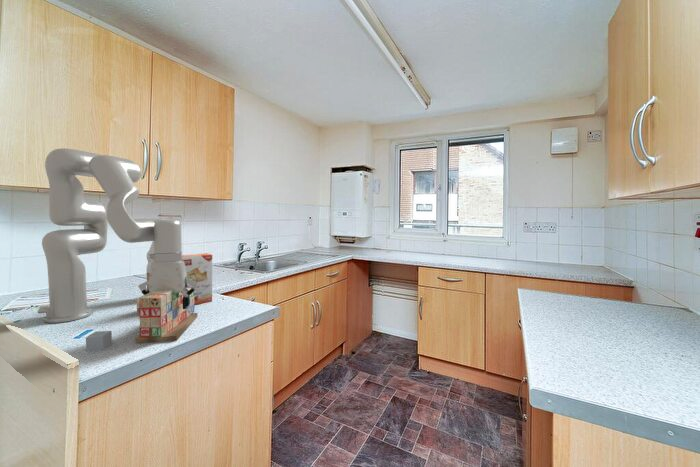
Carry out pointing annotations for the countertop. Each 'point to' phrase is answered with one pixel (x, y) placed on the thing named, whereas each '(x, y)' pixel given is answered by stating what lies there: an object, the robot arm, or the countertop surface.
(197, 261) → the cracker box
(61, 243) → the robot arm
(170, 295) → the stack of blocks
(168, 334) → the walnut board
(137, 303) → the beech cube
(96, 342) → the slate cube
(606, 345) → the countertop surface
